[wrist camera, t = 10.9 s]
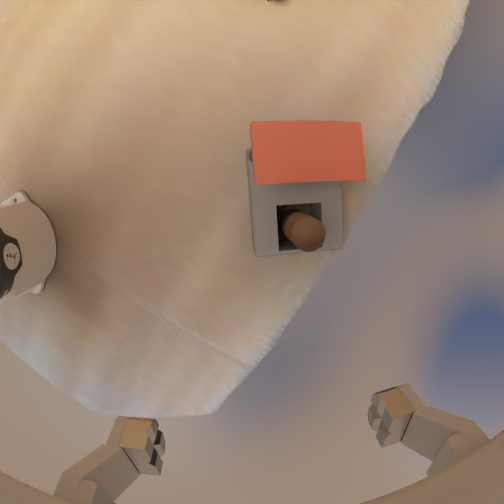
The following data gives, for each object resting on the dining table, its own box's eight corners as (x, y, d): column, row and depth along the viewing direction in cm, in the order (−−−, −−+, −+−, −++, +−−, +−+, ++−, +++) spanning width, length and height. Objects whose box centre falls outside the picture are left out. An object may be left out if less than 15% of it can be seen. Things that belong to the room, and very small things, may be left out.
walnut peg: (276, 209, 41) (291, 218, 32) (303, 207, 42) (325, 216, 32) (278, 236, 42) (293, 253, 33) (304, 234, 42) (326, 249, 33)
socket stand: (253, 247, 42) (262, 275, 31) (244, 138, 38) (250, 122, 27) (331, 240, 43) (365, 263, 31) (325, 136, 39) (360, 122, 27)
